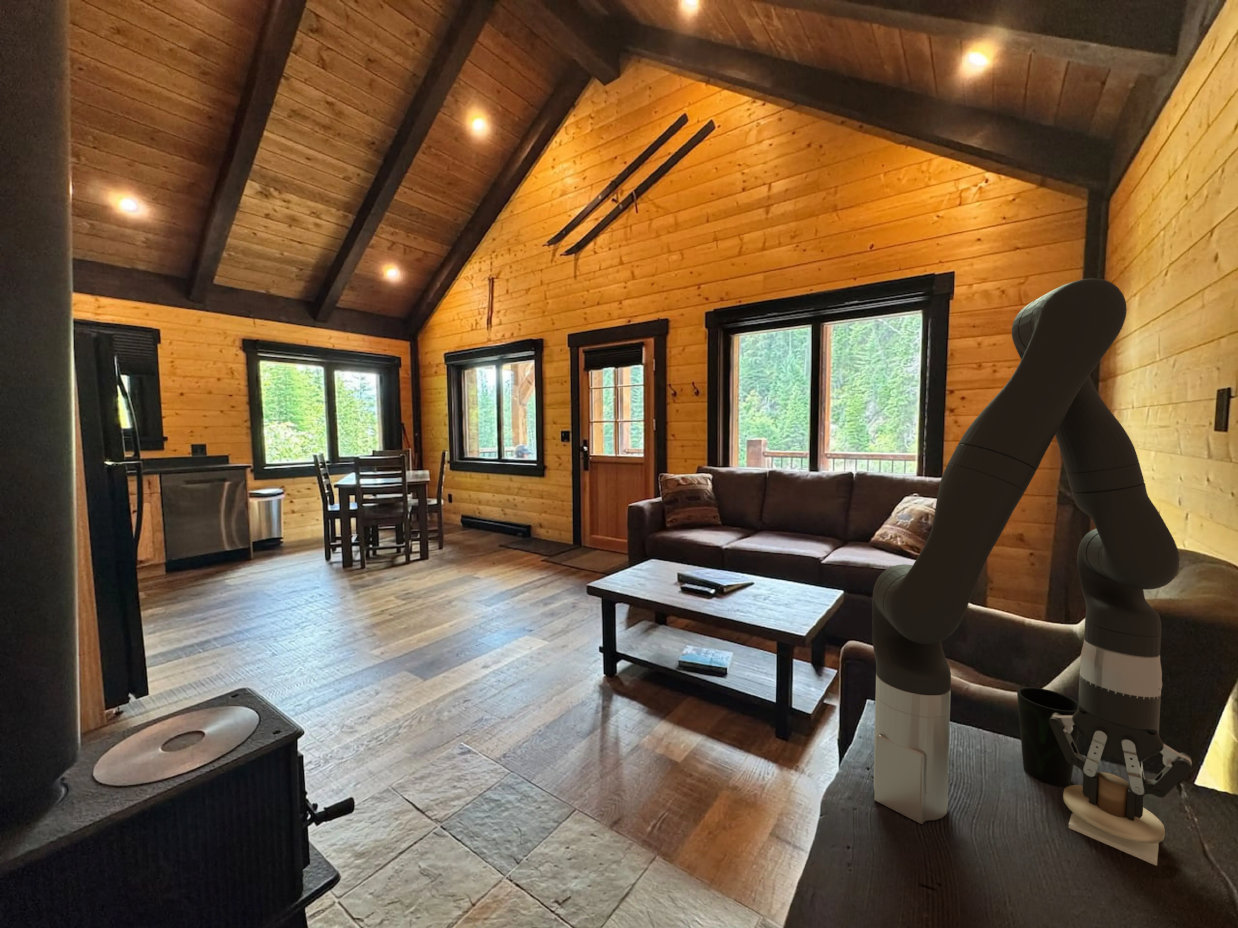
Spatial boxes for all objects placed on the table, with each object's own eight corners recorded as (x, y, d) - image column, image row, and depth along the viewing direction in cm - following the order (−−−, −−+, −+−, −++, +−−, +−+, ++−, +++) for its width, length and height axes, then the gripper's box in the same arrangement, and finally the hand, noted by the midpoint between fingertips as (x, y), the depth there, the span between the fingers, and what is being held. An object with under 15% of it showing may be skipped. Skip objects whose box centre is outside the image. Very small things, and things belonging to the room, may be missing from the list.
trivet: (1156, 865, 60) (1157, 860, 60) (1068, 827, 66) (1068, 823, 66) (1159, 832, 65) (1159, 828, 65) (1077, 800, 71) (1077, 796, 71)
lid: (1163, 856, 59) (1165, 816, 59) (1057, 811, 66) (1059, 775, 66) (1165, 818, 65) (1167, 782, 65) (1069, 781, 72) (1070, 748, 72)
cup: (1054, 761, 81) (1056, 688, 80) (1094, 793, 73) (1097, 713, 73) (1003, 757, 81) (1005, 685, 81) (1037, 789, 74) (1040, 709, 73)
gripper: (1043, 669, 68) (1037, 792, 69) (1201, 712, 57) (1192, 857, 58) (1053, 655, 73) (1047, 770, 74) (1200, 692, 62) (1192, 826, 63)
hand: (1111, 808), depth 66 cm, fingers closed on lid, 3 cm apart
